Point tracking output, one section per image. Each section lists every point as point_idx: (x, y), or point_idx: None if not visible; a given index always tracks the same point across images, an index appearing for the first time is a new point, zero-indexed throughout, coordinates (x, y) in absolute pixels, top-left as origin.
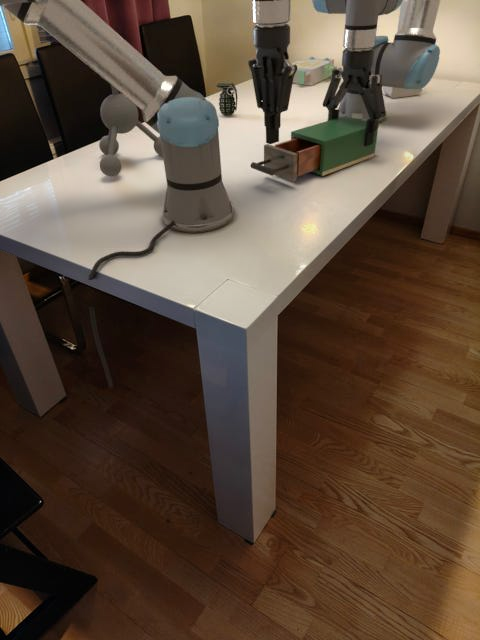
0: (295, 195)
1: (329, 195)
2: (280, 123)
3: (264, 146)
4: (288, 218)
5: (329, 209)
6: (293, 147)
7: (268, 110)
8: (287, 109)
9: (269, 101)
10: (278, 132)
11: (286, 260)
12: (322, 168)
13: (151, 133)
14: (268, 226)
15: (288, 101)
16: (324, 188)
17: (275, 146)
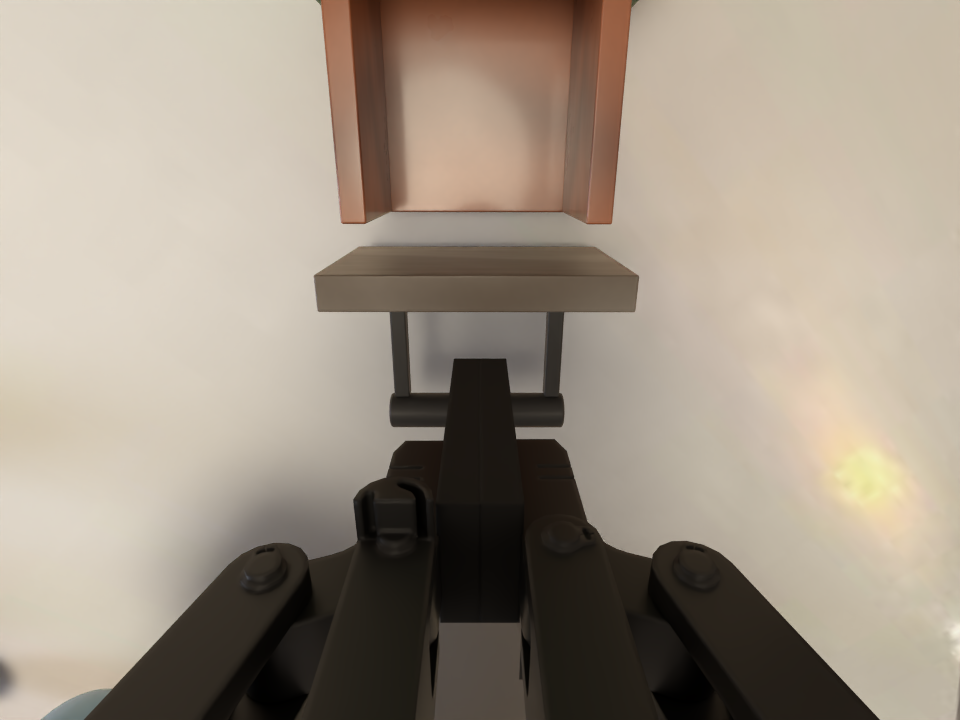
0: (644, 309)
1: (785, 194)
2: (569, 464)
3: (327, 310)
4: (753, 474)
5: (860, 314)
6: (364, 18)
7: (439, 611)
8: (723, 559)
9: (430, 707)
10: (508, 394)
11: (900, 637)
12: (632, 3)
13: None
14: (728, 552)
15: (828, 685)
16: (715, 140)
17: (353, 222)
